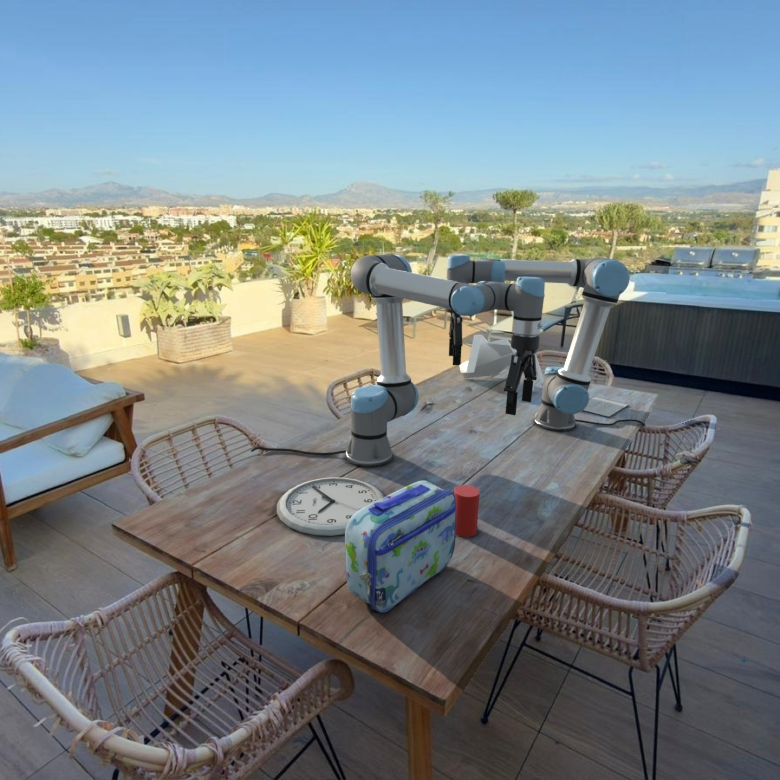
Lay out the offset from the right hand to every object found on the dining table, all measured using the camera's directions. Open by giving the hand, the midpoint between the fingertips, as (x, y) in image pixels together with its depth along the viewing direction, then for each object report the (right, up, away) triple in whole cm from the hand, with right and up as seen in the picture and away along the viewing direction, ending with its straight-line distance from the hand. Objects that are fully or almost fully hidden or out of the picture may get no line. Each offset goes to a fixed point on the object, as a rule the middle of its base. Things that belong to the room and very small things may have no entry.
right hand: (454, 360), depth 187 cm
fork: (-8, -18, +36) cm, 41 cm away
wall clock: (-39, -42, -44) cm, 72 cm away
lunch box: (-20, -52, -75) cm, 94 cm away
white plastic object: (+30, -8, +67) cm, 74 cm away
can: (-4, -46, -55) cm, 72 cm away
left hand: (+14, -16, -37) cm, 43 cm away
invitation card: (+68, -18, +39) cm, 81 cm away
